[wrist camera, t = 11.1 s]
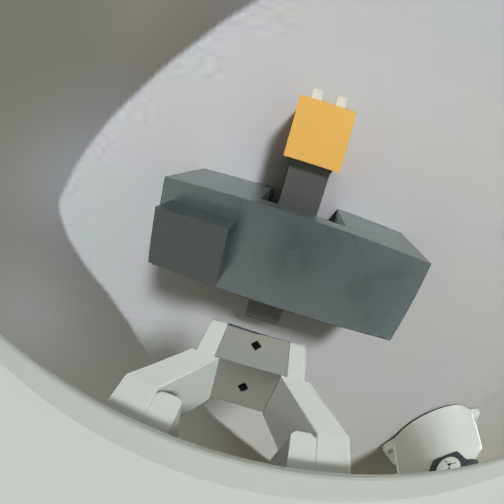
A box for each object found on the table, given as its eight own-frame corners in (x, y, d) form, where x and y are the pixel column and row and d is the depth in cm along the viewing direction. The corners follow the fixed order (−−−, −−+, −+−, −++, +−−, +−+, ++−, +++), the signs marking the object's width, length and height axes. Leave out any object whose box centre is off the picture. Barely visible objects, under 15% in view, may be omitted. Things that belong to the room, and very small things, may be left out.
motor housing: (373, 294, 27) (396, 359, 18) (189, 234, 29) (136, 276, 19) (400, 232, 25) (444, 277, 15) (203, 168, 26) (147, 180, 17)
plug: (286, 307, 30) (281, 331, 26) (246, 295, 30) (237, 317, 26) (351, 107, 22) (360, 98, 18) (305, 92, 22) (304, 81, 18)
